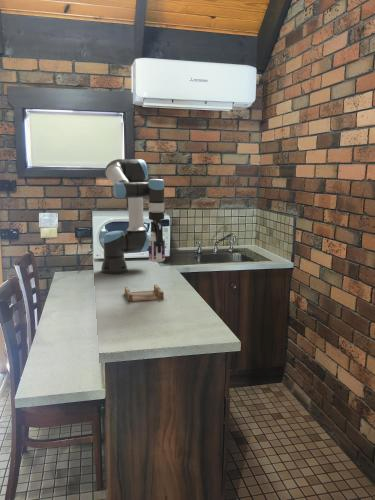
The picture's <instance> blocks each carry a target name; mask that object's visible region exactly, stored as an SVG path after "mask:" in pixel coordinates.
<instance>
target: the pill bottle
mask: <svg viewBox="0 0 375 500" xmlns="http://www.w3.org/2000/svg"><path fill="white" fill-rule="evenodd" d="M165 240H166V239H165V237H164V236H163V246H162V259H156V246H155V245H157V244H156V235H155V233H154V231H153V232H151V231H150V236H149V239H148V245H149V247H148V260H149V262H154V263H161V262H164V261H165V259H166V241H165Z"/></svg>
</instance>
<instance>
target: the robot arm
mask: <svg viewBox="0 0 375 500" xmlns="http://www.w3.org/2000/svg"><path fill="white" fill-rule="evenodd" d="M148 170H149V169H148V166H147V162H146V161H145V160H144V159H139V158H138V159H137V158H135V159H133V158H132V159H131V158H130V159H129V158H127V159H126V158H125V159H124V158H117V159H113V160H111V161H109V163H107V165H106V166H105V170H104V174H105V176H106V178H107V179H108V181H110V182H111V183H112V185H113V196H114V197H115V198H118V199H128V200H127V203H128V228H127V229H126V232H124V231H123V230H113V231H108V232H106V233H105V234H104V235H103V241H102V243H103V262H102V264H101V268H100V269H101V270H100V272H101V273H102V274H107V275H114V274H115V275H117V274H123V273H124V274H125V273H126V272H128V265H127V262H126V259H125V254H129V253H130V254H131V253H143V252H147V251H148V250H149V245H148V239H149V237H151V234H150V233H151V232H153V231H154V233H155V235H156V244H157V245H155V246H156V259H162V246H163V237H164V234H163V224H162V223H161V221H163V220H164V219H165V180H164V179H162V178H161V179H160V178H150V179H149V171H148ZM146 180H148V181H146ZM144 198H146V199H147V198H148V204H147V207H148V211H149V212H148V220H150V232H148V231H147V228H146V227H145V226H144Z"/></svg>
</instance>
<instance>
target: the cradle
mask: <svg viewBox="0 0 375 500" xmlns="http://www.w3.org/2000/svg"><path fill="white" fill-rule="evenodd" d="M124 295H125V297H126V300H127V301H128V303H129V302H131V303H140V302H143V303H144V302H152V301H153V302H154V301H163V300H164V299H165V298H164V291H163V290H162V289H161V288H160V287H159V285H158V284H153V290H152V289H151V290H142V291H131V290H130V288H129V287H128V286H124Z"/></svg>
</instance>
